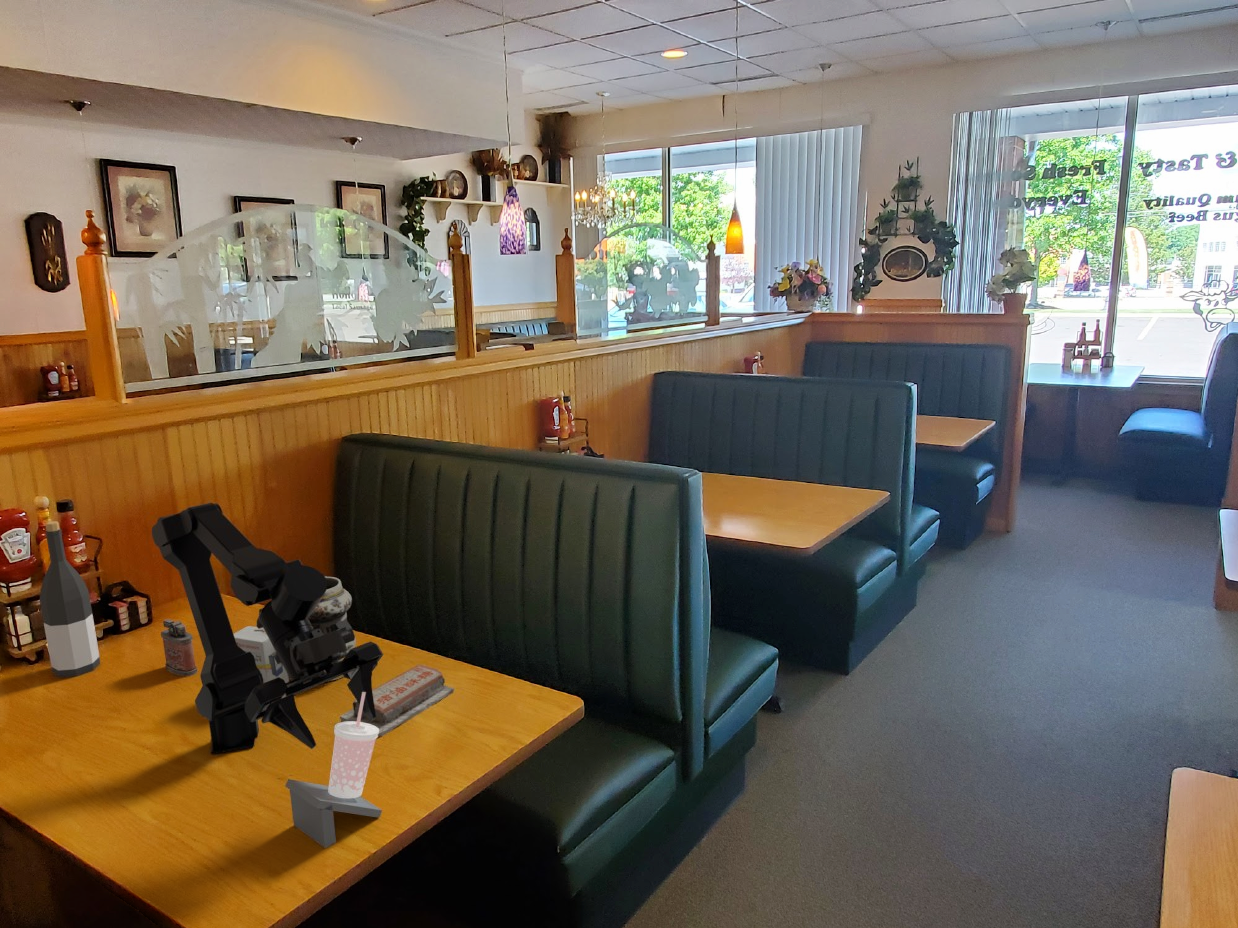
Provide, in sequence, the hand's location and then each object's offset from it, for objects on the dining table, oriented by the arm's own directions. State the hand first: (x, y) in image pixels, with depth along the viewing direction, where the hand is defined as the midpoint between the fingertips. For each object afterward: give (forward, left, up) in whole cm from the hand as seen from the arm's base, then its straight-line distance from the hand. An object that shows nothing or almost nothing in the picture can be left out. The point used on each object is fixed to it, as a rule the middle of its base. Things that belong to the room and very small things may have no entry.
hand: (344, 732), depth 117 cm
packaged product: (+8, +32, -14) cm, 36 cm away
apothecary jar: (-4, +51, -14) cm, 53 cm away
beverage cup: (-1, +1, -10) cm, 10 cm away
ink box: (-15, +46, -14) cm, 50 cm away
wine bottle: (-51, +70, -14) cm, 88 cm away
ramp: (-2, +1, -14) cm, 14 cm away
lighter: (-31, +62, -14) cm, 71 cm away
